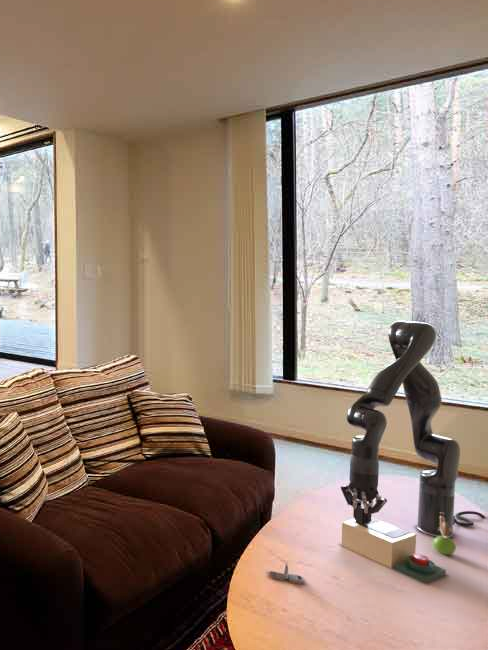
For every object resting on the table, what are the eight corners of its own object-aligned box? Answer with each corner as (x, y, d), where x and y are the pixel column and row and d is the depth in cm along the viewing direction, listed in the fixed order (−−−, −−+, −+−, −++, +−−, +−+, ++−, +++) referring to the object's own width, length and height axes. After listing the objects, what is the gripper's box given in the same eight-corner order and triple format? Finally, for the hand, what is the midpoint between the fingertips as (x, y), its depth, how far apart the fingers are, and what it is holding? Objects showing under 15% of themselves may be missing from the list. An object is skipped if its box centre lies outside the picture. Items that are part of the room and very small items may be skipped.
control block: (414, 562, 165) (415, 551, 165) (445, 575, 158) (446, 563, 157) (394, 569, 161) (395, 558, 161) (425, 583, 154) (425, 571, 153)
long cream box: (364, 537, 180) (365, 514, 180) (415, 559, 167) (416, 534, 166) (341, 545, 176) (342, 521, 175) (391, 568, 162) (392, 542, 161)
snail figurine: (450, 549, 172) (452, 513, 171) (457, 559, 166) (460, 521, 165) (429, 546, 174) (431, 510, 173) (435, 555, 168) (437, 518, 167)
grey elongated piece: (302, 579, 157) (303, 565, 157) (303, 584, 154) (304, 570, 154) (269, 572, 161) (270, 559, 160) (270, 577, 158) (270, 563, 158)
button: (417, 558, 161) (417, 552, 161) (431, 564, 158) (431, 558, 158) (409, 560, 160) (410, 555, 160) (423, 566, 157) (424, 561, 157)
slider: (361, 520, 175) (362, 504, 174) (368, 523, 173) (368, 507, 172) (355, 522, 173) (356, 506, 173) (362, 525, 172) (362, 508, 171)
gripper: (395, 474, 167) (392, 528, 168) (349, 460, 179) (347, 510, 181) (379, 478, 164) (377, 533, 165) (334, 464, 177) (333, 515, 178)
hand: (361, 521), depth 173 cm, fingers closed on slider, 2 cm apart
